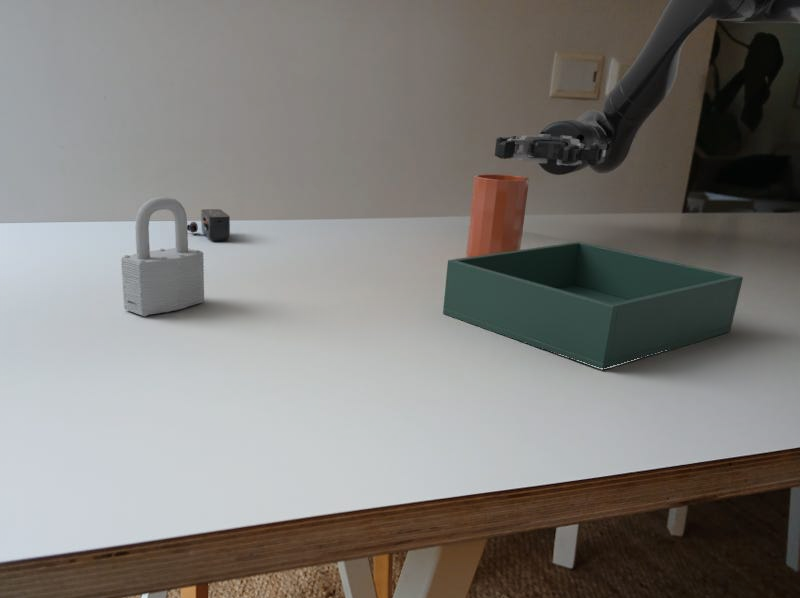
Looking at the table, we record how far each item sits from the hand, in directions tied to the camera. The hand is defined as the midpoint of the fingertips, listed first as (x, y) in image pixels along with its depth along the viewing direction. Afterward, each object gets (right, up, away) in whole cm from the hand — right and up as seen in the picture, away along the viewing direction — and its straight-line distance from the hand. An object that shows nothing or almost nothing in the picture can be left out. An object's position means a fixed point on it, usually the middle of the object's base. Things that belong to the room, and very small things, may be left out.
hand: (533, 153), depth 97 cm
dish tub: (-4, -24, -29) cm, 38 cm away
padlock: (-42, -22, -29) cm, 56 cm away
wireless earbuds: (-43, -11, +3) cm, 44 cm away
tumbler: (-6, -15, -5) cm, 17 cm away
